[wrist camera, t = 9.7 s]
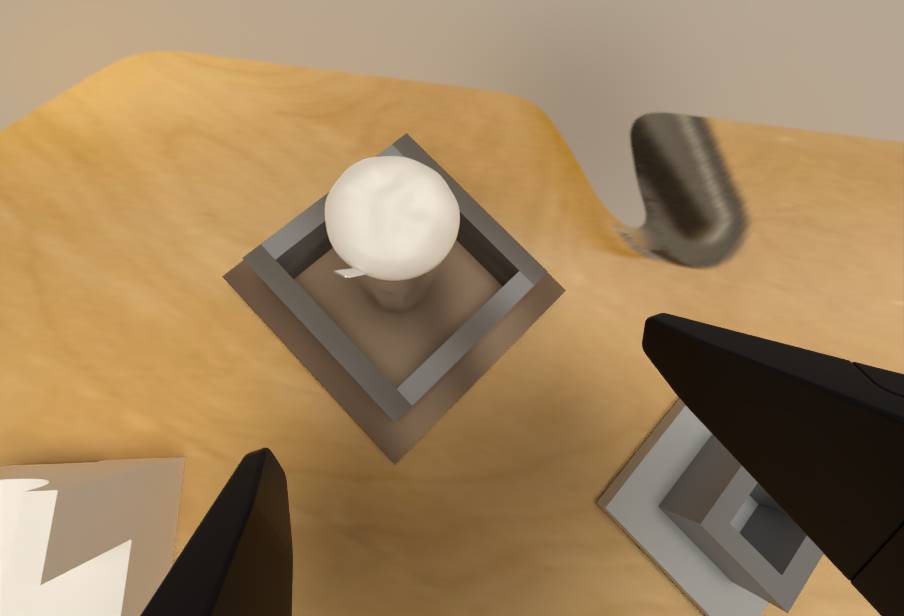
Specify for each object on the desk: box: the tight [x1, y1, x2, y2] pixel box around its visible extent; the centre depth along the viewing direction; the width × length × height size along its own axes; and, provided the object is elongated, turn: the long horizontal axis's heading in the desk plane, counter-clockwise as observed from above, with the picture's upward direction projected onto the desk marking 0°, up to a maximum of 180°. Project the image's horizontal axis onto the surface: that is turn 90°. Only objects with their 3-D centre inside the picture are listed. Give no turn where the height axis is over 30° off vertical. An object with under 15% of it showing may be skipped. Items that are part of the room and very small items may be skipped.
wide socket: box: [222, 133, 566, 464], centre depth 20 cm, size 13×13×4 cm
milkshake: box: [325, 156, 460, 312], centre depth 16 cm, size 4×5×10 cm
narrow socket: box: [596, 398, 823, 616], centre depth 20 cm, size 9×9×4 cm
